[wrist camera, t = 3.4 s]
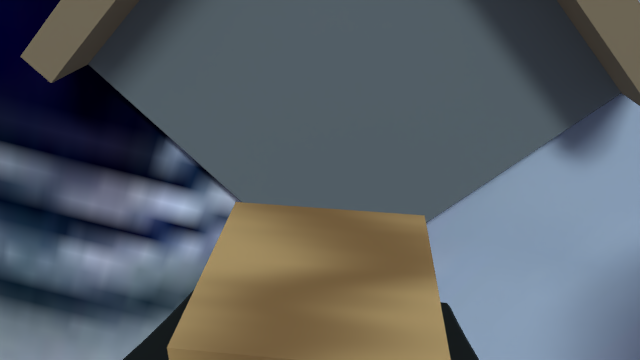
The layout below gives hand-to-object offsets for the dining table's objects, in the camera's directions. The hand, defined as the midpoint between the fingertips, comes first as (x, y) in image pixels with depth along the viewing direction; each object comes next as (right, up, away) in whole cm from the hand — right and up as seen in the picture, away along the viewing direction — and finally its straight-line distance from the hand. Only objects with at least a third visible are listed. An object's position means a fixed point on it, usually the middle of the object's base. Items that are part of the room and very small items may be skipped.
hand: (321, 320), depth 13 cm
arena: (+1, +8, +5) cm, 10 cm away
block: (0, +1, +1) cm, 2 cm away
